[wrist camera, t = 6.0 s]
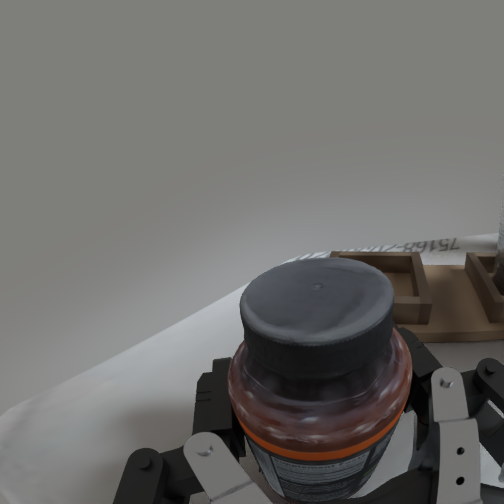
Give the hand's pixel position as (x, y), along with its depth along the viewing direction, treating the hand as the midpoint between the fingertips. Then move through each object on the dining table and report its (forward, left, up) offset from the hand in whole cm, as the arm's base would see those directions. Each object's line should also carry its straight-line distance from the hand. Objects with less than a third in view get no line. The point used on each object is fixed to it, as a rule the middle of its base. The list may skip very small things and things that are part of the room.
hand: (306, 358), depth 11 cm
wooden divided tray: (-10, -15, -7) cm, 19 cm away
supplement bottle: (-1, +2, -7) cm, 7 cm away
